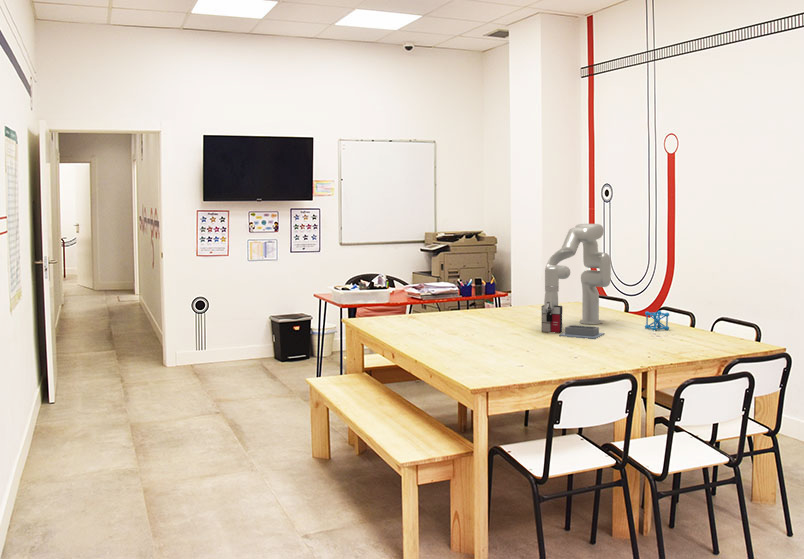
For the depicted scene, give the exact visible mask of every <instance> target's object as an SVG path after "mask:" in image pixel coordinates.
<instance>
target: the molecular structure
mask: <svg viewBox="0 0 804 559" xmlns="http://www.w3.org/2000/svg"><path fill="white" fill-rule="evenodd" d="M644 315H645V317H646V319H645V320H646V321H645V322H646V323H645V326H644V328H645V329H646V328H648V329H651V330H652V331H653V330H656V331H657V330H665V331H669V329H670V327H669V326H668V322H669V318H668V317H670V313H669V312H665V313H664V312H662V311H661V310H657V311H655V312H649V311H645V313H644ZM649 317H650V318H651V319H653V322H651V323H650V324H648V323H649ZM664 318H666V319H665V325H664V324H663V323H662V322H661V320H662V319H664ZM658 327H659V328H658Z"/></svg>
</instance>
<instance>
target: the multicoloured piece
mask: <svg viewBox="0 0 804 559" xmlns="http://www.w3.org/2000/svg"><path fill="white" fill-rule="evenodd" d="M549 309H551V308H549ZM548 332H555V333H554V334H562V333H563V306H562V305H558V306H555V307H554V309H553V310H552V322H547V321H546V309H544V304H542V305H541V333H548ZM561 332H562V333H561Z"/></svg>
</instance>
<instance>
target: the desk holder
mask: <svg viewBox="0 0 804 559" xmlns="http://www.w3.org/2000/svg"><path fill="white" fill-rule="evenodd" d="M604 334H605V332H600V326H590V325H589V326H588V325H576V324H575V325H574V324H570V325H567V326H565V327H564V332H562V333H559V334H558V337H561V336H567V337H566V338H573V337H576V339H585V338H588V339H587V340H597V339H599V338H601V337H603V336H604ZM602 335H603V336H602ZM600 336H601V337H600ZM598 337H599V338H598ZM596 338H597V339H596Z"/></svg>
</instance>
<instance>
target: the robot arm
mask: <svg viewBox="0 0 804 559" xmlns="http://www.w3.org/2000/svg"><path fill="white" fill-rule="evenodd" d="M604 233H605V230H604V227H603V225H602V224H599V223H578V224H576V225H575V226H574V227H572V228H569V229H568V232H567V234H566V235H565V239H564V241H563V244H562V246H561V248H559V249H558V250H557V251H555V252H554V253H553V254H552V255H551V256H550V257H549V259H548V261H547V263H546V266H545V268H544V304H543V305H544V309H546V321H547V322H552V310H553V309H554V307H555V306H559V290H560V288H559V287H560V286H559V284H560V282H559V280H566V279H568V278H569V277H570V275H571V269H570V268H569V267H568V266H566V265H558V264H559V263H561V262H562V261H564V260H567V259H570V258H573V257H574V256H575V255H576V253H577V251H578V248H579V246H580V243H582V248H583V249H582V252H583V253H582V257H583V258H582V259H583V260H582V262H583V265H584V267H585V268H589V269H588V270H584V271H583V272H582V273H581V275H580V283H581V289H582V303H581V304H582V316H581V317H582V319H580V320H579V323H580V324H584V325H600V324H602V320H599V319H600V314H599V313H600V293H599V291H598V288H607V287H608V286H610V284H611V275H612V273H611V272H612V265H611V264H612V263H611V257H610V255H609V254H608V253H606V252H599V244H598V241H597V240H600V239H601V238H602V237H603V235H604ZM592 269H593V270H592ZM594 269H597V270H594ZM598 269H599V270H598ZM549 308H551V309H549Z"/></svg>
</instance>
